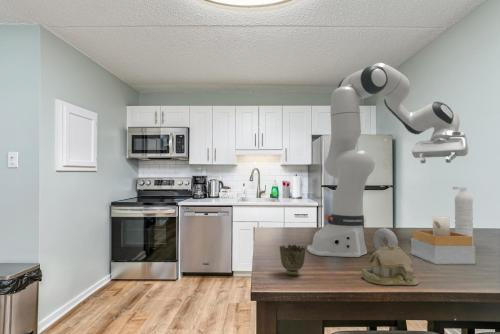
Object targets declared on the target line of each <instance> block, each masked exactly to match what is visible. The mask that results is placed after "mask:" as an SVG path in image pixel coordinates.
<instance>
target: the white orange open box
mask: <svg viewBox="0 0 500 334" xmlns="http://www.w3.org/2000/svg"><path fill="white" fill-rule="evenodd" d="M412 234H413V235H412V237H411V238H410V245H411V246H410V248H411V250H410V251H411V252H410V255H412V256H415V257H418V258H420V259H422V260H425V261H427V262H428V263H432V264H433V265H475V264H476V245H474V241H473V242H472V236H468V235H464V234H460V233H456V232H455V231H451V230H450V236H434V235H433V229H431V230H430V229H428V230H427V229H425V230H424V229H420V230H419V229H417V230H416V229H413V230H412Z"/></svg>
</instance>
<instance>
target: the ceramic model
mask: <svg viewBox="0 0 500 334" xmlns="http://www.w3.org/2000/svg"><path fill="white" fill-rule="evenodd" d="M387 245H388V247H381V248H379V249H378V250H377V249H376V251H373V252H372V255H371V256H370V257H369V260H368V262H369V263H370V265H371V267H370V268H366V267H364V268H362V269H361V275H362V277H363V279H364V281H367V282H369V283H372V284H376V285H384V286H385V285H386V286H393V285H397V286H398V285H400V286H415V285H419V283H420V280H419V279H418V278H417V277H416V276H415V275H414V274H415V271H414V269H413V268H414V264H413V261H412V259H411V258H410V256H409V255H407V254H406V253H405V251H404V250H403V249H402V248H401V247H400V246H398V247H394V245H393V244H388V243H387Z"/></svg>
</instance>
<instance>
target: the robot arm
mask: <svg viewBox="0 0 500 334" xmlns="http://www.w3.org/2000/svg"><path fill="white" fill-rule="evenodd" d="M410 91H411V83H410V80H409V78H408V77H407V76H406V75H405V74H403V73H402V72H400V71H399V70H397V69H396V68H394V67H392V66H390V65H388V64H387V63H383V62H376V63H374V64H373V65H372V66H371V65H370V66H367V67H365V68H363V69H360V70H358V71H354V72H353V73H351V74H350V75H348V76H346V77H344V78H342V79H341V80H340V82H339V83H338V86H337V88H335V89H334V90H333V92H332V93H331V98H330V133H331V134H330V143H329V147H328V148H329V150H328V154H327V157H326V159H325V160H324V164H323V165H324V170H325V172H326V173H327V175H329V176H331V177H333V178H336V179H338V182H337V185H336V189H335V190H334V191H333V194H332V213H331V214H330V215H329V214H327V213H326V214H325V215H324V220H327V224H326V225H324V226H323V227H322V228H320V229H319V230H318V231H316V232H315V233H314V235H313V238H312V243H311V244H308V245H307V247H306V251H307V252H309V253H310V254H312V255H315V256H320V257H321V256H323V257H324V256H328V257H344V258H345V257H346V258H360V257H361V256H363V255H367V254H368V251H367V246H366V243H365V236H364V228H365V217H364V214H363V212H364V211H363V209H364V204H363V203H364V191H365V188H366V184H367V181H368V179H369V177H370V175H371V174H372V173H373V171H374V169H375V166H376V165H375V164H376V162H375V159H374V156H373V155H372V154H371V152H369V151H367V150H364V149H359V148H356V147H357V142H358V140H359V138H360V137H361V133H362V129H361V128H362V127H361V126H362V125H361V109H360V101H361V100H363V99H366V98H369V97H372V96H374V95H377V94H379V95H381V96H382V97H383V98H384V100H383V102H384V105H385V107H386V108H387V110H388V111H390V114H391V113H392V115H393V116H394V117H395V118H396V119H397V120H398V121H399V122H400V123H402V125H403V126H404V128H405V129H406V131H407V132H408V133H411V134H413V135H420V134H421V133H424V132H425V131H427V130H430V129H432V128H433V132H432V134H431V137H430V140H424V141H423V140H422V141H421V140H420V141H418V142H416V143H415V145H414V146H413V148H412V150H411V154H412V156H413V158H415V159H419V161H420V164H426V161H427V160H426V159H427V158H445V163H450V164H451V162H452V160H454V159H456V158H457V157H465V156H467V155H468V154H469V146H468V139H467V137H466V134H465V132H462V131H459V127H460V117H459V115H458V113H457V112H455V111H453V110H452V108H450V107H449V106H448V104H445V103H443V102H441V101H434V102H432V103H430V104H427V105H426V106H424V107H422V108H420V109H418V110H416V111H409V110H408V109H407V108H406V107H405V106H404V105H403V104H402V103H403V102H404V101H405V100H406V98H407V97H408V95H409V93H410Z"/></svg>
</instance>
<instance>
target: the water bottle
mask: <svg viewBox="0 0 500 334" xmlns="http://www.w3.org/2000/svg"><path fill="white" fill-rule="evenodd" d="M452 190H459V191H458V192H457V194H456V195H455V196H454V225H455V226H454V232H456V233H460V234H464V235H468V236H472V242H473V243H474V229H473V228H474V222H473V221H474V216H473V212H474V211H473V202H474V201H473V197H472V196H471V194H470V192H468V190H467V187H460V186H459V187H457V186H456V187H455V186H452Z"/></svg>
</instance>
